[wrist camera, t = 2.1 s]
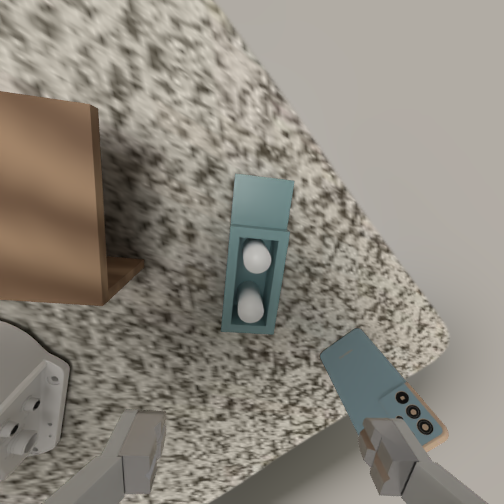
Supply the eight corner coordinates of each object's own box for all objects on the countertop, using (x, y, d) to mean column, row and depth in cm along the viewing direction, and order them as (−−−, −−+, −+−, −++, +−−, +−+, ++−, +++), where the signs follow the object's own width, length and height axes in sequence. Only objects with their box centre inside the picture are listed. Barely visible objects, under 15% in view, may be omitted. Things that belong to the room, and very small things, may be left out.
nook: (144, 267, 29) (102, 305, 20) (38, 258, 28) (-59, 295, 18) (142, 133, 25) (89, 104, 16) (18, 116, 24) (-119, 74, 14)
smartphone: (320, 356, 35) (381, 480, 20) (317, 353, 34) (377, 476, 20) (360, 328, 34) (454, 436, 19) (357, 325, 33) (450, 431, 19)
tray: (267, 311, 32) (274, 337, 26) (222, 308, 31) (220, 334, 26) (286, 181, 27) (299, 180, 22) (235, 174, 27) (235, 172, 21)
